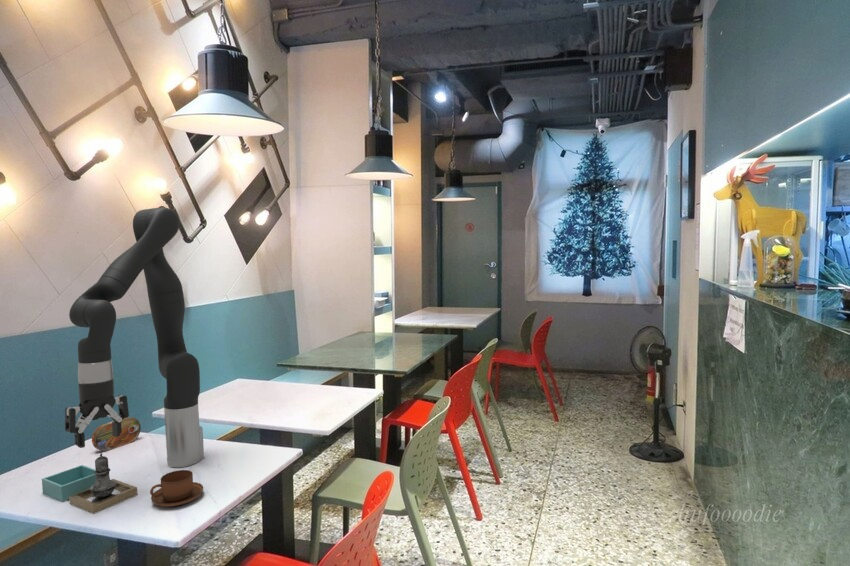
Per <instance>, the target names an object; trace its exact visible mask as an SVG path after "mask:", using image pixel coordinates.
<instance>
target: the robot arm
mask: <svg viewBox="0 0 850 566" xmlns="http://www.w3.org/2000/svg"><path fill="white" fill-rule="evenodd" d="M179 229H180V219H179V216H178V214H177V212H175V210H173V209H171V208H169V207H153V208H145V209H140V210H138V211H137V212H136V213H135V214H134V216H133V218H132V230H133V235H134V238H135V241H136V242H134V244H133V245H132V246H130V247H129V248H128V249H127V250H125V251H124V252H123V253H121V254H120V255H119V256H118V257H117V258H115V259H114V260H113V261H112V262H111V263H110V264H109V265H108V267H106V270H105V271H104V272H103V273H102V275H101V276H100V277H99V279H98V280H97V282H96V283H94V284H93V285H92V286H90V287H88V289H87V290H86V291H85V292H83V293H82V294H81V295H80V296H79V297H77V298H76V299H75V301H74V302H73V304H72V305H71V306H70V308H69V313H68V314H69V320H70V322H71V323H72V324H73V325H74V326H76V327H78V328H89V329H88V334H87V337H84V338H81V339H80V340H79V341H78V343H77V358H78V360H77V361H78V367H77V380H78V382H77V383H78V384H77V385H78V398H79V404H78V406H73V407H70V406H66V407H65V408H64V410H65V411H64V431H65V432H67V433H71V434H74V444H75V446H76V447H77V448H80V449H83V448H85V447H86V441H85V440H86V439H85V438H86V437H85V432H84V431H85V429H86V428H87V426H89V425H90V423H91V421H95V420H99V419H101V418H102V419H103V418H104V419H105V418H107V417H108V418H109V419H111V420H112V421H111V422H112V432H113V436H114V437H119V436H120V434H121V432H122V427H121V421H122V420H123V419H125V418H128V417H129V418H130V413H129V404H128V397H127V395H123V394H118V395H117V396H116V397H115V396H114V395H115V384H114V383H115V382H114V367H113V363H112V347H111V344H112V343H111V342H112V339H113V336H114V330H115V327H116V323H117V312H116V308H115V307H114V304H112V303H111V302H114V301H118V300H120V299H123V297H124V296H125V295H126V294H127V292H128V290H129V289H130V288H131V286H132V285H133V283H134V282H135V281H136V280H137V278H138V276H139V275H140V274H141V273H142V271H143V273H144V278H145V284H146V289H147V290H146V291H147V297H148V302H149V308H150V311H151V318H152V322H153V326H154V332H155V335H156V341H157V359H158V369H159V370H158V371H159V373H160V375H161V376H162V377H163V378H164V379H166V396H165V397H164V398H163V409H164V411H163V413H164V427H165V444H166V446H165V447H166V456H167V457H166V458H167V459H166V460H167V466H168V467H171V468H183V467H189V466H192V465H195V464H197V463H199V462H200V461H201V460H202V459H205V448H204V447H205V445H204V444H205V443H204V428H203V427H202V426H200V413H199V396H200V393H201V392H200V391H201V377H200V376H201V375H200V373H201V372H200V364H199V360H198V359H197V358H196V357H195V356H194V355H193V354H192V353H189V352H188V351H187V347H186V343H185V339H184V334H183V333H184V332H183V329H184V327H183V326H184V319H185V314H186V313H185V311H186V304H185V297H184V290H183V285H182V283H181V280H180V278H179V276H178V275H177V273H176V272H175V271H174V269H173V268H172V266H171V265H170V264H169V262H168V260H167V258H166V256H165V253H164V247H165V246H166V245H167V244H168V243H169V242H170V241H171V240H172V239H174V237H175V236H176V235H177V233H178V231H179ZM116 404H117V407H118V412H117V411H116V410H114V407H115V405H116ZM79 412H80V413H81V414H80V416H79V417H78V419H77V421H76V416H77V415H78V413H79ZM113 421H114V422H113Z"/></svg>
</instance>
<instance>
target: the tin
mask: <svg viewBox="0 0 850 566" xmlns="http://www.w3.org/2000/svg"><path fill="white" fill-rule="evenodd" d="M112 422H114V421H113V420H112V421H109V422H107V423H104V424H101V425H99V426H98V427H96V428H95V430H94V431H93V433H92V436H91V443H92V446H93V447H94V448H95V449H97V450H98V451H102V452H109V451H111V450H115V449H117V448H120V447H123V446H125V445H128V444H130V443H133V442H134V441H136V440H137V438H139V436H140V433H141V431H142V430H141V429H142V426H141V423H140V421H139V420H138V419H137V418H135V417H130V416H129V417H128V418H125V419H123V420H122V421H121V427H122V432H121V434H120V436H119V437H114V436H113V432H112Z"/></svg>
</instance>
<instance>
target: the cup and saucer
mask: <svg viewBox="0 0 850 566" xmlns="http://www.w3.org/2000/svg"><path fill="white" fill-rule="evenodd" d="M193 475H194V474H193V471H191V470H189V469H188V470H186V469H179V470H174V471H171V472H167V473H166V474H164V475H162V476H161V477H160V483H158V484H155V485H153V486H152V487H151V489H150V491H149V494H150V496H151V497H150V500H151V502H152V503H153V504H154V505H156V506H158V507H165V508H166V507H177V506H180V505H181V506H183V505H185V504H188V503H189V502H192V501H193V500H196V499H197V498H199V496H200V495H201V494H203V491H204V486H203V485H202V483H200V482H195V481H194V477H193ZM156 488H159V489H158V490H156V491H154V490H155V489H156Z"/></svg>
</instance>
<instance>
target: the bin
mask: <svg viewBox="0 0 850 566" xmlns="http://www.w3.org/2000/svg"><path fill="white" fill-rule="evenodd" d="M95 471H96V470H95V468H91V467H89V466H87V465H83V464H81V465H78V466H75V467H72V468H69V469H66V470H63V471H60V472H58V473H55V474H52V475H50V476H46V477H43V478H41V487H42V489H41V490H42V494H43V495H45V496H47V497H50V498H52V499H55V500H57V501H59V502H61V503H64V502H67V501H68V500H69V496H70V495H73V494H75V493H78V492H80V491H83V490H86V489H88V488H90V487H91V486H92V485H94V484H95V482H96V475H95V474H94V472H95Z"/></svg>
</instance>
